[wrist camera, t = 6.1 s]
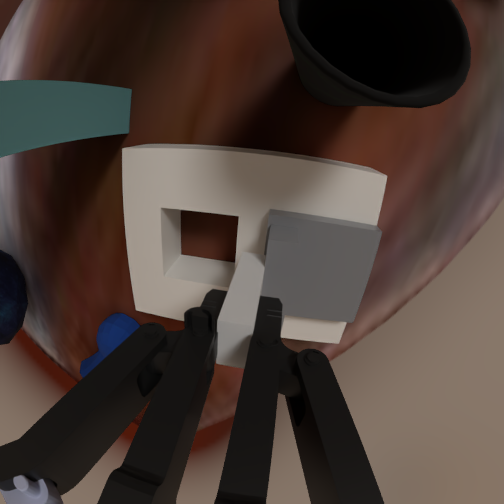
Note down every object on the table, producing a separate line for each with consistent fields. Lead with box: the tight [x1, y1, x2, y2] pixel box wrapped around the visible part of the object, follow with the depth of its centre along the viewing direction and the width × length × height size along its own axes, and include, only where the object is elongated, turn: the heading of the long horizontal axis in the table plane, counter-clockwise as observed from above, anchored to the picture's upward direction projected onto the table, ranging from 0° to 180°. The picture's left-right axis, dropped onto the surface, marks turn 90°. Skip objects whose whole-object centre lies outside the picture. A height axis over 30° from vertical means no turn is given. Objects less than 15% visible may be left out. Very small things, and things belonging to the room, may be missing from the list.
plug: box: [0, 80, 132, 158], centre depth 13 cm, size 4×4×14 cm
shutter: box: [261, 209, 382, 330], centre depth 17 cm, size 7×7×4 cm
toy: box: [80, 313, 140, 378], centre depth 29 cm, size 7×6×15 cm
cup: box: [278, 0, 471, 108], centre depth 11 cm, size 8×8×12 cm
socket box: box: [122, 144, 387, 344], centre depth 21 cm, size 14×18×4 cm
